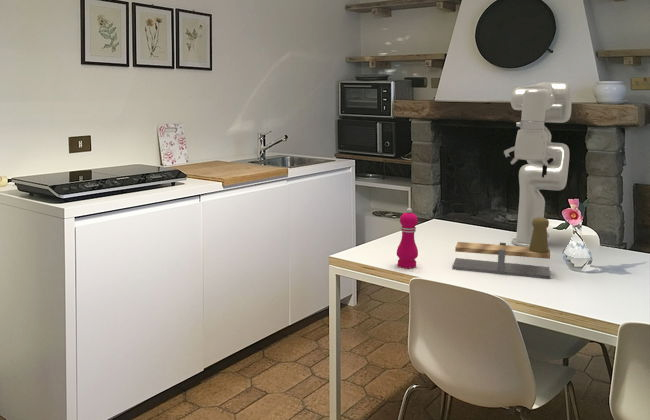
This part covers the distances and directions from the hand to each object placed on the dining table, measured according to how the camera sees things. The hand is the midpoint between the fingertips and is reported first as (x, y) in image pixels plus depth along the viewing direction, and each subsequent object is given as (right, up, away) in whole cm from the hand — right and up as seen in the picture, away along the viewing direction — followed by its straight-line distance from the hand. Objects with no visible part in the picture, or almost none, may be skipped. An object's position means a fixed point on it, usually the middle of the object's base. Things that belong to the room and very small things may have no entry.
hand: (528, 176), depth 213 cm
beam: (-11, -26, -7) cm, 29 cm away
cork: (0, -25, -10) cm, 27 cm away
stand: (-11, -32, -5) cm, 34 cm away
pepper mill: (-42, -31, -3) cm, 53 cm away
